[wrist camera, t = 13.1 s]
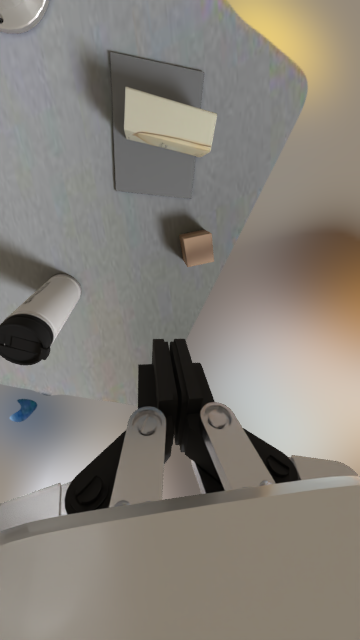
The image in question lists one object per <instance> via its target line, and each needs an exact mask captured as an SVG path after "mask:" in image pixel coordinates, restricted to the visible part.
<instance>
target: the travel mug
mask: <svg viewBox="0 0 360 640" xmlns="http://www.w3.org/2000/svg"><path fill="white" fill-rule="evenodd" d="M81 293H82V289H81V286H80V284H79V282H78V281H77V280H76V279H75V278H73V277H72V276H69V275H66V274H57V275H54V276H52V277H51V278H50V279H49V280H48V281H47V282H46V283H45V284H44V285H42V286H41V287H40V288H39V289H38V290H37V291H36V292H35V293H34V294H33V295H31V296H30V297H29V298H28V299H27V300H26V301H25V302H24V303H23V304H22V305H21V306H19V307H18V308H17V309H16V310H15V311H14V312H13V313H12V314H11V315H10V316H8V317H7V318H6V319H5V320H4V322H3V323H2V324H1V325H0V355H1V356H2V357H3V358H5V359H6V360H8V361H10V362H12V363H15V364H19V365H32V364H36V363H38V362H39V361H41V360H42V359H43V360H46V359H47V357H48V356H49V353H50V346H51V345H52V343H53V342H54V340H55V338H56V337H57V335H58V333H59V332H60V330H61V328H62V327H63V325H64V323H65V322H66V320H67V318H68V317H69V315H70V313H71V312H72V310H73V308H74V307H75V305H76V303H77V301H78V300H79V298H80V296H81Z"/></svg>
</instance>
